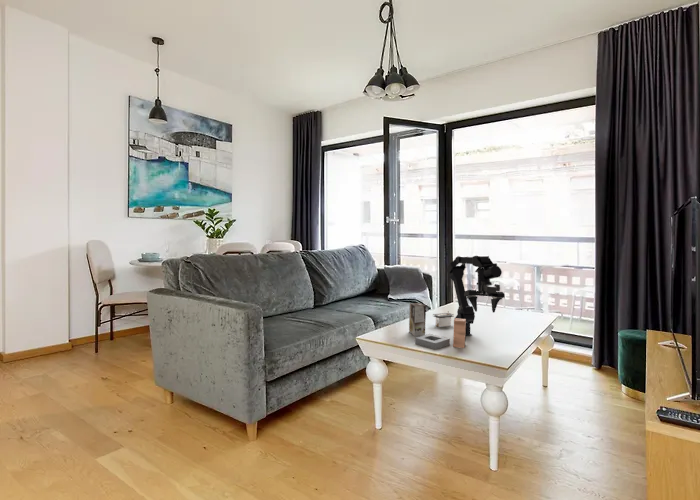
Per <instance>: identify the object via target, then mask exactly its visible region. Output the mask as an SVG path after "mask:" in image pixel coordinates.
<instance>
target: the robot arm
mask: <svg viewBox="0 0 700 500" xmlns="http://www.w3.org/2000/svg"><path fill="white" fill-rule="evenodd" d="M467 264H469V265H472V266H474V267H477V269H475V271H474V272H475V273H477V282H476V286H477V290H476V289H468V290H466V289H465V286H464V282H463V277H464V275H465V272H464V271H466V268H467V267H466V265H467ZM446 271H447V273H448V277H449V278H450V279H451V280H452V282H453V286H454V291H455V295H456V298H457V299H456V300H457V303H458V309H457V312H456V313H457V315H456V316H454V319H453V321H454V320H455V318H459V319H466V332H465V337H468V336H469V337H470V336H473V334H472V333H471V324H474V322H475V317H476V316H475V314H476V313H475V312H478V304H477V302H478V301H477V299H478V297H491V298H490V300H491V301H490V303H491V311H492V313H495V312H496V309H497V306H498V304H499V302H500V301H501V300H503V299H505V293H504V291H500V290H501V285H500V284H499V283H495V284H493V283H492V281H491V279H497V278H500V277H502V273H503V271H502V269H501V268H500V266H499V265H498V263H494V262H493V261H492V260H491V258H490V256H489V255H485V254H484V255H482V254H481V255H480V254H479V255H477V254H476V255H473V256H466V255H458V256H456V257H455V259H454V260H452V261H451V262H450V263H449V265H447V268H446ZM468 300H469V302H470V303H471V305H470V303H469V302H468Z"/></svg>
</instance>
